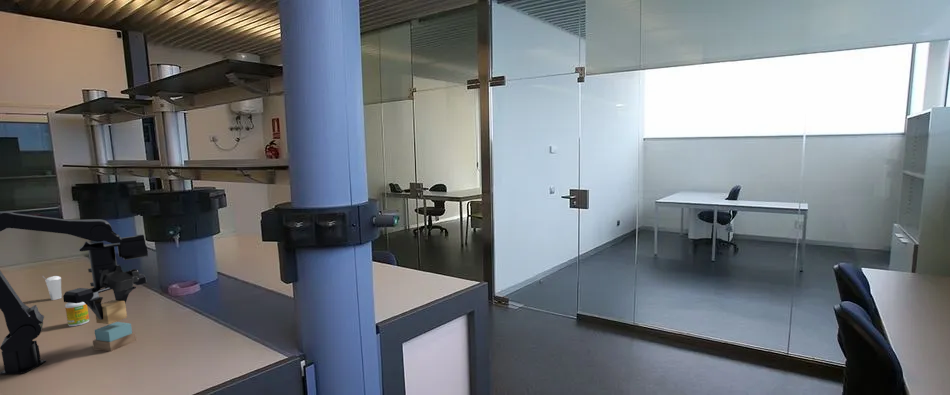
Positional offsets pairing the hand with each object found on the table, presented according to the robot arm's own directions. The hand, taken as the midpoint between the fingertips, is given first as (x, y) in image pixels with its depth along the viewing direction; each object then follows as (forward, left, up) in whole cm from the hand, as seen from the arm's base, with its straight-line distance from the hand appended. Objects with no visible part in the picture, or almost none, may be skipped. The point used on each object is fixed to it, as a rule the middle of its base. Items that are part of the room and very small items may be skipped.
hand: (111, 316), depth 129 cm
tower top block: (0, 0, -6) cm, 6 cm away
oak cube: (0, 0, -1) cm, 1 cm away
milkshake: (+50, +61, -9) cm, 79 cm away
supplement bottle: (+20, +27, -9) cm, 35 cm away
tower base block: (0, 0, -9) cm, 9 cm away
